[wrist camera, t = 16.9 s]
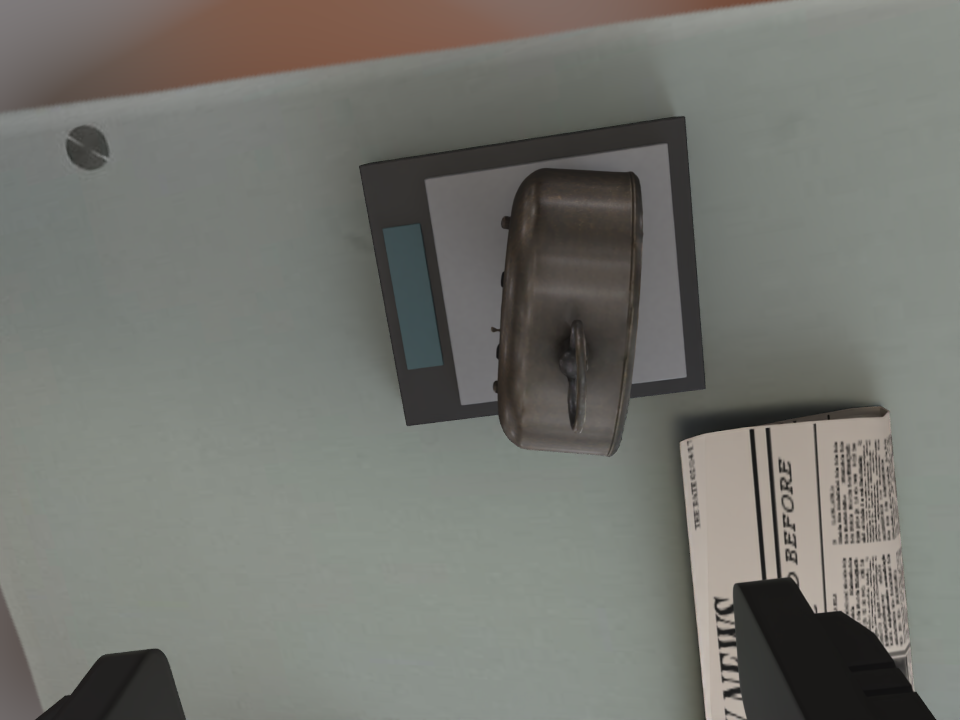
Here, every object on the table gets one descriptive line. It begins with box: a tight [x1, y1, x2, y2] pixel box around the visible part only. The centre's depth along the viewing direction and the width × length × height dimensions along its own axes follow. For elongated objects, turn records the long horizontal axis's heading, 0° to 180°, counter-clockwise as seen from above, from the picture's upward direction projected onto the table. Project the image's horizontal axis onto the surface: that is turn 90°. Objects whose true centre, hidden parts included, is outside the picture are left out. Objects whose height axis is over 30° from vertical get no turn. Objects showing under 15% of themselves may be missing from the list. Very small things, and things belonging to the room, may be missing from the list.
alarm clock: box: [491, 168, 644, 457], centre depth 30 cm, size 11×5×16 cm, turn 177°
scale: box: [359, 116, 706, 426], centre depth 40 cm, size 15×13×3 cm
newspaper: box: [679, 406, 914, 720], centre depth 46 cm, size 35×12×4 cm, turn 12°
